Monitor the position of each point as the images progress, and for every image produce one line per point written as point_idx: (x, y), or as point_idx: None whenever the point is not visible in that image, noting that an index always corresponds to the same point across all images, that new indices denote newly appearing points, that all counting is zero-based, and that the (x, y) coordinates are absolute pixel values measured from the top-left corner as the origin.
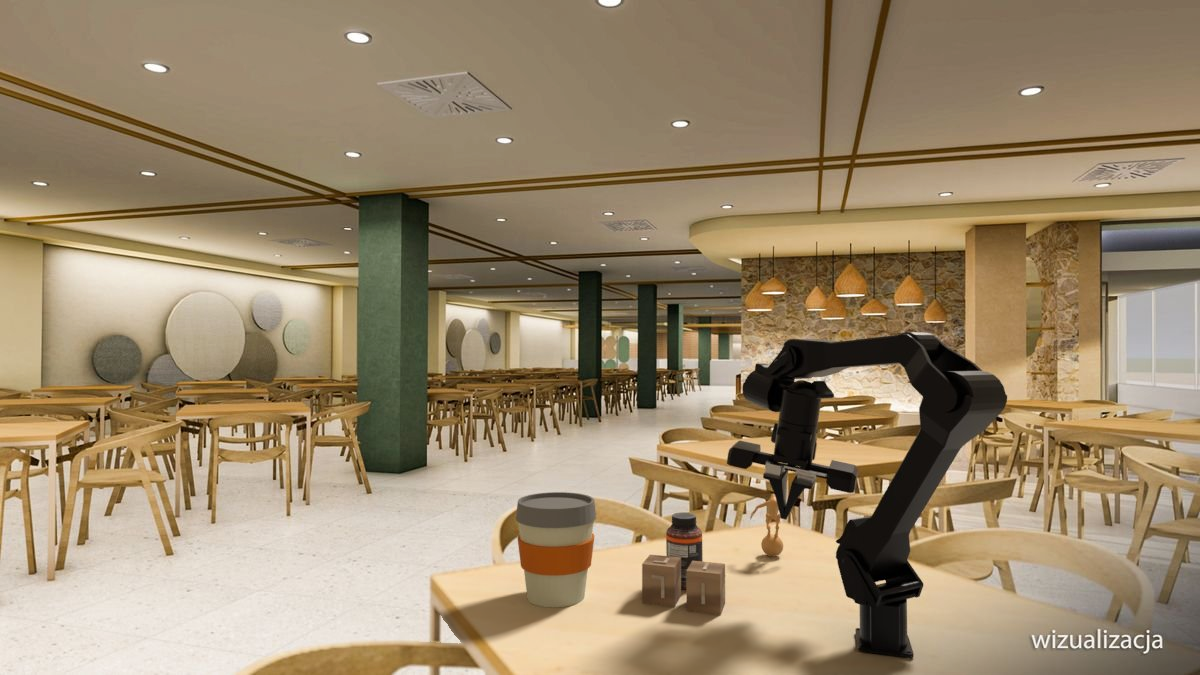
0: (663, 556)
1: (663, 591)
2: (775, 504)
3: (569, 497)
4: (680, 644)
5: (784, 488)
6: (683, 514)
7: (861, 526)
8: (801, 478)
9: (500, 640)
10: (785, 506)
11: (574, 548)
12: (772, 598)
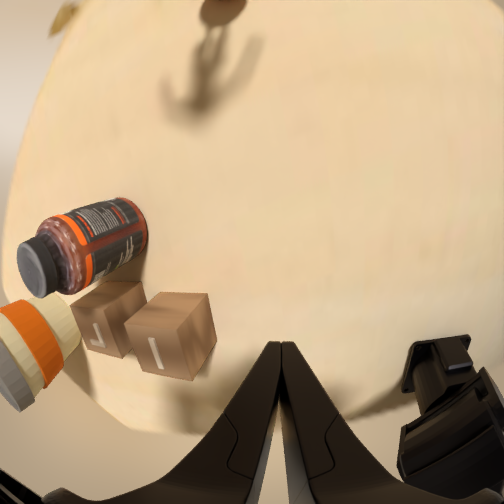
0: (84, 310)
1: None
2: None
3: None
4: (207, 409)
5: (256, 498)
6: (26, 266)
7: None
8: None
9: (98, 400)
10: (278, 394)
11: (48, 382)
12: (280, 242)
